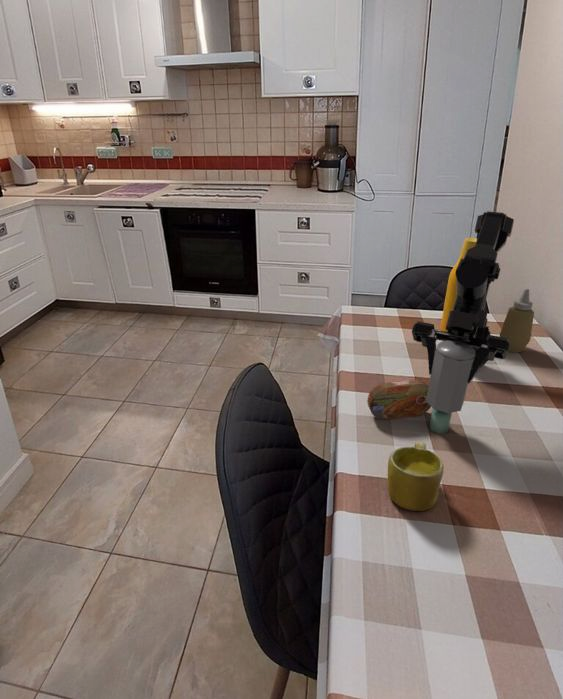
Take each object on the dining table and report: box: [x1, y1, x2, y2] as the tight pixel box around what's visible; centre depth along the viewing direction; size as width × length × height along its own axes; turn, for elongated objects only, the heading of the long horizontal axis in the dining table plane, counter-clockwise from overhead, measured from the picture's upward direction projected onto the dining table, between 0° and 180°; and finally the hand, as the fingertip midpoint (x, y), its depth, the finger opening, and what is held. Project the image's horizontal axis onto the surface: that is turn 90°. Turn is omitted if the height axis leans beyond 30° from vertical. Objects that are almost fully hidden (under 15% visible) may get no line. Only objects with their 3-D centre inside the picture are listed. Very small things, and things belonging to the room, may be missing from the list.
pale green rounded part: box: [429, 408, 453, 434], centre depth 103 cm, size 4×4×4 cm
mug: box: [387, 440, 445, 512], centre depth 85 cm, size 12×10×10 cm
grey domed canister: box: [426, 340, 475, 414], centre depth 97 cm, size 7×7×13 cm
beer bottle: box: [439, 237, 477, 332], centre depth 139 cm, size 9×9×29 cm
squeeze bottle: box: [499, 288, 535, 353], centre depth 133 cm, size 8×8×18 cm
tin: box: [366, 379, 432, 421], centre depth 106 cm, size 15×3×8 cm, turn 99°
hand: (448, 378), depth 96 cm, fingers closed on grey domed canister, 7 cm apart
